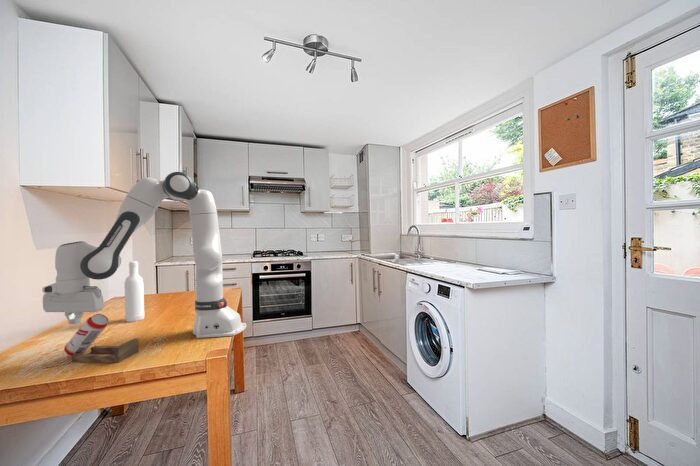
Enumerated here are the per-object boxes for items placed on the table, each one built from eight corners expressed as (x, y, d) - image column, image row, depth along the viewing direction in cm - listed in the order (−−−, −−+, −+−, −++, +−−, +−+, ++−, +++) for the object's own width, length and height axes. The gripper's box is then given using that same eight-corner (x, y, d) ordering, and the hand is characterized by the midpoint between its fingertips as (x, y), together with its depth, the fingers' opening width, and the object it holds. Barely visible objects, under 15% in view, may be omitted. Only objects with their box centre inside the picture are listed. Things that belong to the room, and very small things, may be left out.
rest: (138, 351, 106) (138, 338, 106) (119, 362, 98) (118, 348, 97) (94, 351, 107) (94, 338, 107) (71, 361, 99) (71, 347, 98)
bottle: (148, 317, 148) (147, 260, 148) (135, 322, 140) (134, 262, 140) (134, 317, 149) (133, 260, 148) (120, 322, 141) (119, 262, 141)
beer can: (63, 358, 99) (91, 325, 97) (61, 344, 102) (88, 312, 101) (85, 356, 104) (111, 325, 103) (83, 343, 107) (108, 313, 106)
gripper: (108, 284, 105) (109, 320, 105) (57, 284, 106) (58, 320, 107) (91, 287, 99) (93, 326, 99) (37, 288, 100) (39, 326, 100)
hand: (74, 323), depth 103 cm, fingers closed
